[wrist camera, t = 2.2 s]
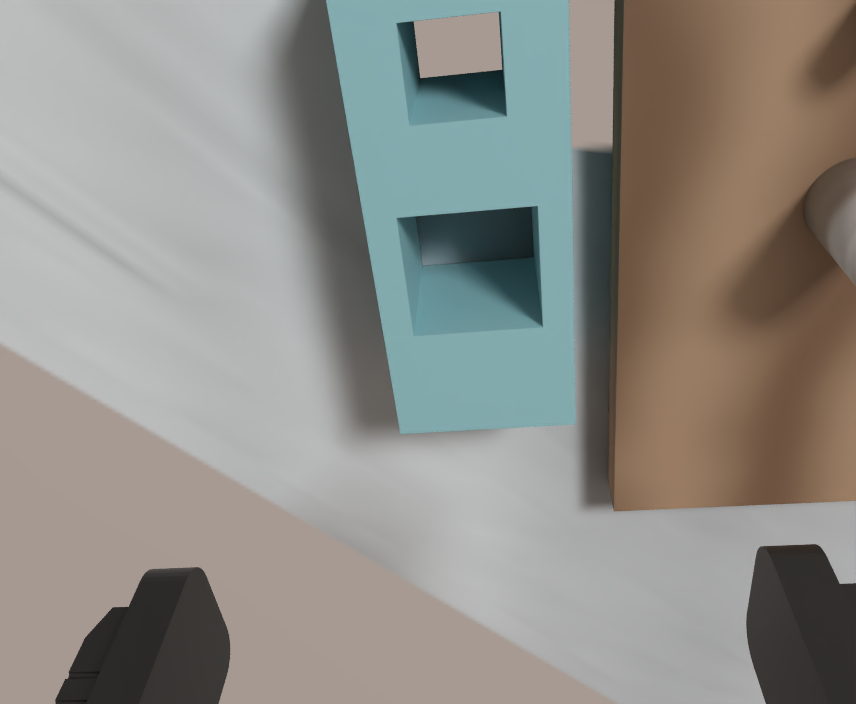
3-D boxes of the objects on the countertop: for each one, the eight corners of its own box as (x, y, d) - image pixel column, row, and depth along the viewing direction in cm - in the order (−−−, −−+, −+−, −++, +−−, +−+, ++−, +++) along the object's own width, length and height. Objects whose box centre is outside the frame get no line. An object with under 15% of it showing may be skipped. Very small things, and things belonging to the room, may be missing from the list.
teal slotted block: (410, 356, 26) (400, 434, 23) (342, -89, 19) (313, -71, 16) (562, 346, 26) (575, 424, 22) (551, -116, 19) (567, -102, 15)
